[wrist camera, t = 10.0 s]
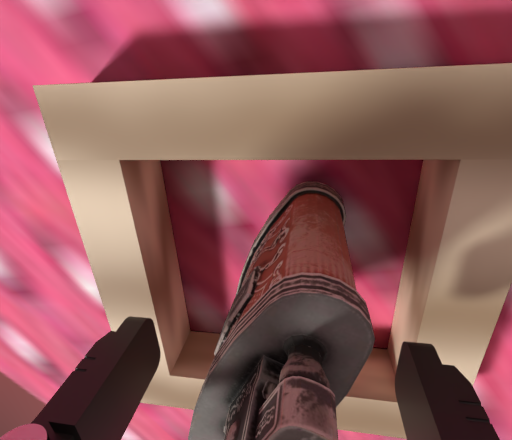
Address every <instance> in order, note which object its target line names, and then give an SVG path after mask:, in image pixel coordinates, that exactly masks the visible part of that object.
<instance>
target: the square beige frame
mask: <svg viewBox="0 0 512 440" xmlns="http://www.w3.org/2000/svg"><path fill="white" fill-rule="evenodd" d="M33 89H34V92H35V95H36V98H37V101H38V104H39V107H40V110H41V113H42V116H43V120H44V123H45V126H46V129H47V132H48V135H49V138H50V141H51V144H52V148H53V151H54V154H55V157H56V160H57V163H58V166H59V169H60V172H61V175H62V179H63V182H64V185H65V188H66V191H67V194H68V197H69V200H70V203H71V207H72V210H73V213H74V216H75V219H76V222H77V225H78V228H79V231H80V234H81V238H82V241H83V244H84V247H85V250H86V253H87V256H88V259H89V262H90V266H91V269H92V272H93V275H94V278H95V281H96V284H97V287H98V290H99V293H100V297H101V300H102V303H103V306H104V309H105V312H106V315H107V318H108V321H109V325H110V328H111V331H117V329H118V328H119V327H120V325H121V324H122V323H123V321H124V320H125V319H126V318H127V317H130V316H132V317H143V318H151V319H152V320H153V322H154V326H155V330H156V334H157V338H158V342H159V346H160V352H161V356H160V362H159V366H158V368H157V371H156V373H155V374H154V376H153V378H152V380H151V382H150V384H149V386H148V388H147V390H146V392H145V394H144V396H143V398H142V400H141V401H140V402H141V403H148V404H155V405H163V406H170V407H177V408H185V409H192V410H194V408H195V405H196V403H197V400H198V397H199V394H200V391H201V388H202V385H203V383H204V381H205V378H206V376H207V374H208V371H209V369H210V367H211V364H212V362H213V360H214V357H215V355H214V352H215V349H216V346H217V343H218V340H219V337H220V335H221V334H217V333H207V332H196V331H190V326H189V320H188V314H187V309H186V303H185V298H184V292H183V286H182V281H181V275H180V269H179V264H178V258H177V252H176V247H175V241H174V236H173V230H172V224H171V219H170V213H169V207H168V202H167V196H166V190H165V185H164V179H163V174H162V168H161V162H160V160H423V164H422V170H421V175H420V180H419V185H418V191H417V196H416V201H415V206H414V212H413V217H412V222H411V228H410V233H409V238H408V243H407V249H406V254H405V259H404V264H403V270H402V275H401V280H400V285H399V291H398V296H397V301H396V307H395V312H394V317H393V322H392V328H391V333H390V338H389V343H388V349H379V348H373V349H372V352H371V354H370V356H369V357H368V359H367V361H366V363H365V364H364V366H363V368H362V370H361V371H360V373H359V375H358V377H357V378H356V380H355V382H354V384H353V385H352V387H351V389H350V391H349V392H348V394H347V395H346V396H345V397H344V399H343V400H342V401H341V402H340V404H339V405H338V406H337V407H336V417H337V429H339V430H346V431H353V432H361V433H368V434H375V435H383V436H390V437H397V438H405V439H407V438H406V434H405V430H404V426H403V422H402V418H401V414H400V410H399V407H398V403H397V399H396V393H395V374H396V369H397V365H398V360H399V355H400V351H401V346H402V343H403V342H404V341H405V342H416V343H428V344H432V345H433V346H434V347H435V349H436V351H437V354H438V356H439V358H440V360H441V363H442V364H444V365H454V366H455V367H456V368H457V369H458V370H459V371H460V372H461V373H462V374H463V375H464V376H465V377H466V378H467V379H468V381H469V382H470V383H471V384H472V386H473V384H474V381H475V378H476V376H477V373H478V370H479V368H480V365H481V362H482V360H483V357H484V355H485V352H486V349H487V347H488V344H489V341H490V339H491V336H492V333H493V331H494V328H495V325H496V323H497V320H498V317H499V315H500V312H501V310H502V307H503V304H504V302H505V299H506V296H507V294H508V291H509V288H510V286H511V283H512V63H497V64H476V65H454V66H433V67H412V68H390V69H369V70H348V71H326V72H305V73H284V74H263V75H241V76H220V77H199V78H177V79H156V80H135V81H113V82H92V83H73V84H54V85H36V86H33Z"/></svg>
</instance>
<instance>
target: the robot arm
mask: <svg viewBox="0 0 512 440" xmlns="http://www.w3.org/2000/svg"><path fill="white" fill-rule="evenodd" d="M160 356H161V352H160V346H159V342H158V338H157V334H156V330H155V326H154V322H153V320H152V319H151V318H143V317H132V316H130V317H127V318H126V319H125V320H124V321H123V323H122V324H121V325H120V327H119V328H118V329H117V331H110V332H109V333H108V334H106V335H105V336H104V337H102V338H101V339H100V340H98V341H97V342H96V343H95V344H94V345H93V347H92V348H91V349H90V350H89V352H88V353H87V354H86V356H85V358H84V359H82V361H81V362H80V363H79V364H78V366H77V367H76V369H75V371H73V372H72V373H71V374H70V376H69V377H68V378H67V379H66V381H65V382H64V383H63V384H62V386H61V387H60V388H59V389H58V391H57V392H56V393H55V394H54V396H53V397H52V398H51V400H50V401H49V402H48V403H47V405H46V406H45V407H44V408H43V410H42V411H41V412H40V413H39V415H38V416H37V417H36V418H35V419H34V421H33V422H32V423H31V424H26V425H22V426H19V427H17V428H15V429H13V430H11V431H10V432H8V433H6V434H5V435H3V436H2V437H1V438H0V440H121V438H122V436H123V434H124V432H125V430H126V428H127V427H128V425H129V423H130V421H131V419H132V417H133V415H134V413H135V411H136V409H137V407H138V405H139V403H140V401H141V400H142V398H143V396H144V394H145V392H146V390H147V388H148V386H149V384H150V382H151V380H152V378H153V376H154V374H155V373H156V371H157V368H158V366H159V362H160ZM395 393H396V399H397V403H398V407H399V410H400V414H401V418H402V422H403V426H404V430H405V434H406V438H407V440H500V439H499V437H498V435H497V434H496V432H495V430H494V428H493V426H492V424H490V422H489V418H488V416H487V414H486V412H485V410H484V408H483V407H482V406H481V402H480V400H479V398H478V396H477V394H476V392H475V390H474V388H473V386H472V384H471V383H470V382H469V381H468V379H467V378H466V377H465V376H464V375H463V374H462V373H461V372H460V371H459V370H458V369H457V368H456V367H455V366H454V365H444V364H442V363H441V360H440V358H439V356H438V354H437V351H436V349H435V347H434V346H433V345H432V344H428V343H416V342H405V341H404V342H403V343H402V346H401V351H400V355H399V360H398V365H397V369H396V374H395Z"/></svg>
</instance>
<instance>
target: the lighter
mask: <svg viewBox="0 0 512 440" xmlns="http://www.w3.org/2000/svg"><path fill="white" fill-rule="evenodd" d="M345 219H346V213H345V209H344V205H343V201H342V198H341V197H340V196H339V194H338V193H337V192H336V190H334V189H333V188H331V187H330V186H328V185H326V184H323V183H320V182H304V183H301V184H298V185H296V186H295V187H294V188H292V189H291V190H290V191H289V192H288V193H287V195H286V196H285V197H284V198H283V200H282V201H281V202H280V203H279V205H278V206H277V207H276V208H275V210H274V211H273V212H272V213H271V215H270V216H269V218H268V219H267V221H266V223H265V224H264V226H263V227H262V229H261V231H260V232H259V234H258V236H257V237H256V239H255V240H254V243H253V245H252V248H251V250H250V253H249V255H248V257H247V260H246V262H245V265H244V267H243V270H242V273H241V276H240V280H239V284H238V288H237V293H236V297H235V299H234V302H233V304H232V306H231V309H230V311H229V314H228V316H227V318H226V321H225V323H224V326H223V329H222V332H221V335H220V337H219V340H218V343H217V346H216V349H215V352H214V355H215V357H214V360H213V362H212V364H211V367H210V369H209V371H208V374H207V376H206V378H205V381H204V383H203V385H202V388H201V391H200V394H199V397H198V400H197V403H196V405H195V408H194V413H193V417H192V422H191V427H190V432H189V437H188V439H189V440H338V431H337V417H336V407H337V406H338V405H339V404H340V402H341V401H342V400H343V399H344V397H345V396H346V395H347V394H348V392H349V391H350V389H351V387H352V385H353V384H354V382H355V380H356V378H357V377H358V375H359V373H360V371H361V370H362V368H363V366H364V364H365V363H366V361H367V359H368V357H369V356H370V354H371V352H372V349H373V345H374V341H375V336H374V332H373V328H372V324H371V319H370V315H369V312H368V308H367V305H366V302H365V301H364V299H363V298H362V297H361V296H360V294H359V293H358V292H357V291H356V287H355V282H354V277H353V272H352V267H351V262H350V257H349V252H348V247H347V242H346V237H345V232H344V224H345Z"/></svg>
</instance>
